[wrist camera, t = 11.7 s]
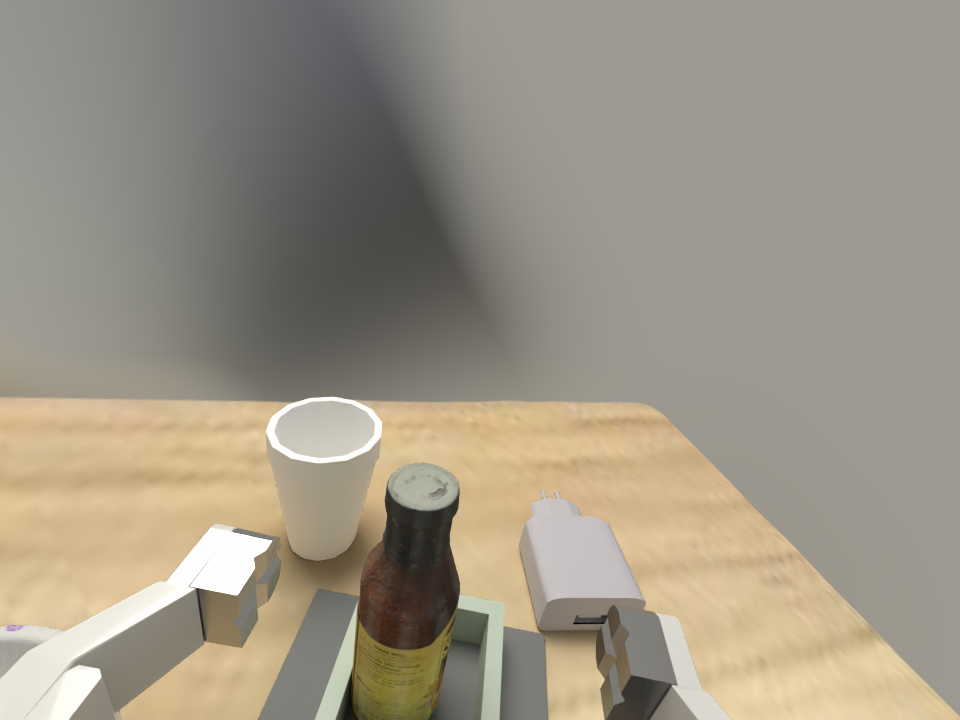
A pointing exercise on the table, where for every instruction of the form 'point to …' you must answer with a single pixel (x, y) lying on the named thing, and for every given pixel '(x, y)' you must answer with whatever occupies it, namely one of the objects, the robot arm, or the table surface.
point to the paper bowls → (23, 644)
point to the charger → (574, 567)
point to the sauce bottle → (407, 600)
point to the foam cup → (323, 471)
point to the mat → (521, 677)
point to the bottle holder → (471, 625)
